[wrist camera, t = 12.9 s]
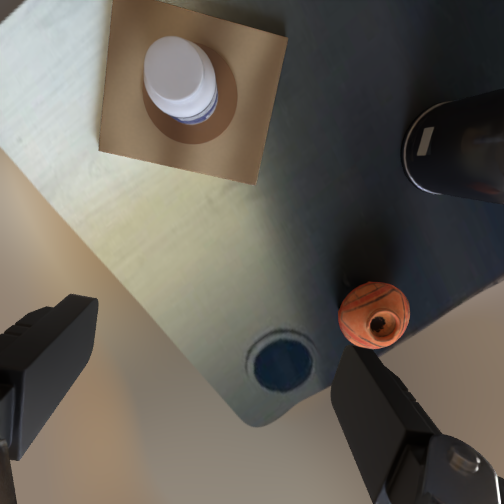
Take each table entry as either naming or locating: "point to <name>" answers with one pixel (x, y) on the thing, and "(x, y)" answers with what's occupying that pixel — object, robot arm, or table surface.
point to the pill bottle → (180, 79)
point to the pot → (374, 315)
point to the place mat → (228, 84)
